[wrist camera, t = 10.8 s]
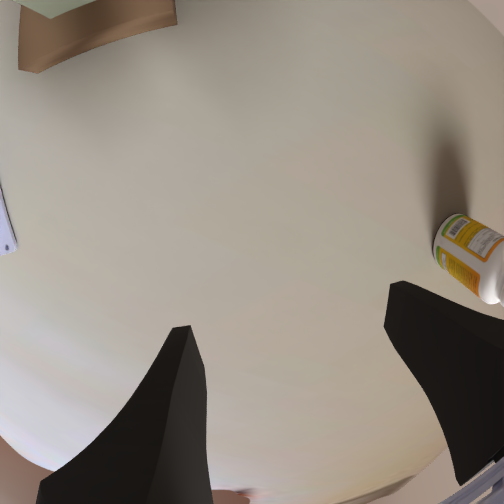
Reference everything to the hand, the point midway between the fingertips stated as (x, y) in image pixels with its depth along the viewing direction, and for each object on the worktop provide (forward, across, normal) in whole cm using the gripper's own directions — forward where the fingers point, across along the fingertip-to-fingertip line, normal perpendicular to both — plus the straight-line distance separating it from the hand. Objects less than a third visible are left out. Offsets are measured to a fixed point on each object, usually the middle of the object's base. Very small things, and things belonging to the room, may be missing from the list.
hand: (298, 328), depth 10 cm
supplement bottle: (+11, -18, +4) cm, 21 cm away
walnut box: (+11, +8, -19) cm, 23 cm away
